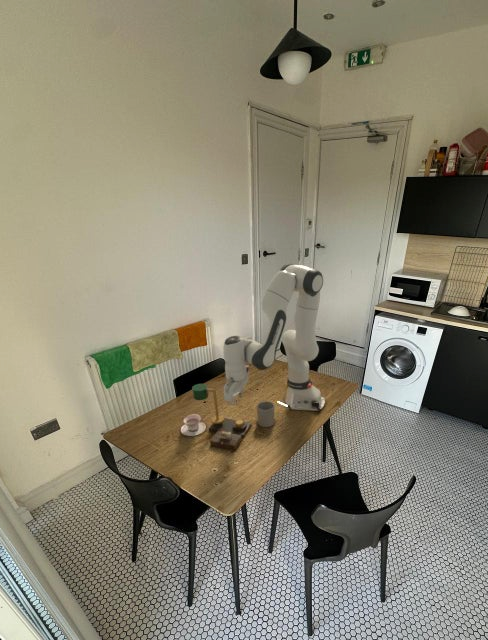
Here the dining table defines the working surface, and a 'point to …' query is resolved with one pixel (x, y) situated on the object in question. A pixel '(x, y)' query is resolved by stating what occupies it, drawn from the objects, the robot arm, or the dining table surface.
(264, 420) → the cup
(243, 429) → the lamp base
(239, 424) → the lamp switch
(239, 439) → the dimmer
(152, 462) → the dining table surface
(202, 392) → the desk lamp
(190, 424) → the teacup
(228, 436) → the dimmer knob
